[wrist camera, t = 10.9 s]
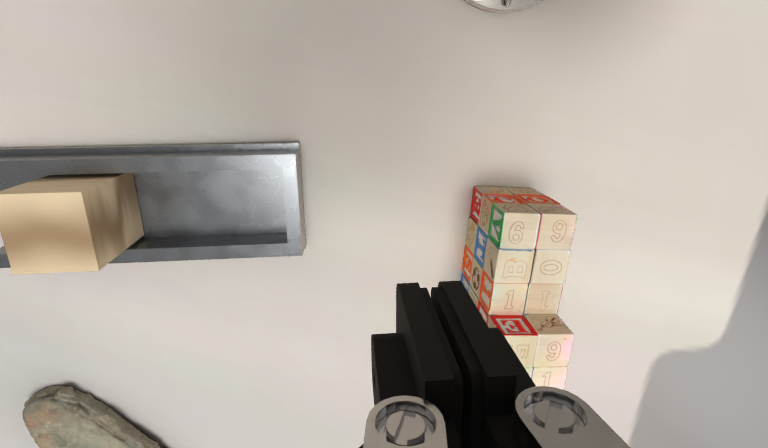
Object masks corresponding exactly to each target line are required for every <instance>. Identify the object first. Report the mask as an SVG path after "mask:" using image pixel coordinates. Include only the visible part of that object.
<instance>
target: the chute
mask: <svg viewBox="0 0 768 448" xmlns="http://www.w3.org/2000/svg"><path fill="white" fill-rule="evenodd" d="M106 173H133V177H134V182H135V187H136V193H137V198H138V203H139V209H140V214H141V219H142V225H143V230H144V236H142V237H141V238H140V239H139V240H137V241H136V242H135V243H133V244H132V245H131V246H130V247H128V248H127V249H126V250H125V251H123V252H122V253H121V254H119V255H118V256H117V257H116V258H114V259H113V260H112V261H111V262H109V263H131V262H156V261H180V260H204V259H228V258H252V257H276V256H300V255H303V251H304V249H305V248H306V235H305V220H304V205H303V190H302V175H301V160H300V145H299V142H267V143H218V144H168V145H118V146H68V147H19V148H0V191H2V190H5V189H8V188H11V187H14V186H18V185H21V184H24V183H27V182H30V181H33V180H36V179H39V178H42V177H45V176H48V175H67V174H106ZM0 268H11V266H10V263H9V259H8V256H7V252H6V249H5V246H3V247H1V248H0Z"/></svg>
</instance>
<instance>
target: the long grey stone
mask: <svg viewBox="0 0 768 448" xmlns="http://www.w3.org/2000/svg"><path fill="white" fill-rule="evenodd" d="M24 406H25V408H24V410H23V420H24V422H25V425H26V427H27V428H28V430H29V432H30V434H31V436H32V437H33V438H34V441H35V443H36V444H37V445H38V446H39V447H40V448H162V447H160V446H159V445H158V443H157V442H155V441H154V440H152V439H149V438H148V437H147V436H146V435H144V434H143V433H142V432H140V431H139V430H137V429H136V428H135V427H134V426H133V425H131V423H129V422H128V421H127V420H125V419H124V418H123V417H122V416H120V415H119V414H118V413H116V412H115V411H114V410H113V409H112V408H111V407H109V406H107V405H105V404H103V403H102V402H100V401H97V400H96V399H94V398H93V397H92V395H91V394H85V393H82V392H80V391H78V390H75V389H73V387H72V386H68V387H66V386H64V385H61V386H60V385H57V386H51V387H48V388H45V389H42V390H41V391H40V392H38V393H36V394H35V395H33V396H32V397H31V398H30V399H29V400H28V401H27V402H25V405H24Z"/></svg>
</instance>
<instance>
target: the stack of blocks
mask: <svg viewBox="0 0 768 448" xmlns="http://www.w3.org/2000/svg"><path fill="white" fill-rule="evenodd" d="M470 214H471V216H470V217H469V222H468V229H467V237H466V245H465V251H464V258H463V265H462V277H461V282H462V283H463V285H464V287H465V288H466V290H467V292H468V293H469V295H470V297H471V299H472V300H473V302H474V304H475V305H476V307H477V309H478V310H479V312H480V314H481V315H482V317H483V319H484V320H485V322H486V324H487V325H488V327H489V328H494V327H496V328H499V329H500V330H501V332H502V333H503V335H504V336H505V338H506V340H507V341H508V343H509V344H510V346H511V347H512V349H513V351H514V352H515V354H516V355H517V357H518V358H519V360H520V362H521V363H522V365H523V366H524V368H525V369H526V371H527V373H528V374H529V376H530V377H531V379H532V380H533V382H534V384H535V385H536V386H548V387H556V388H559V389H562V390H564V386H565V381H566V376H567V371H568V367H567V365H568V364H569V359H570V354H571V349H572V344H573V338H574V333H572V331H571V330H570V329H569V328H568V327H567V326H566V324H565V323H564V322H563V321H562V320H561V319H560V317H559V316H558V315H557V313H558V308H559V303H560V298H561V293H562V289H563V284H564V283H565V279H566V274H567V269H568V264H569V259H570V254H571V250H570V248H571V245H572V240H573V235H574V231H575V225H576V221H577V214H575V213H573V212H572V211H570V210H568V209H567V208H565V207H564V206H562V205H560V203H558V202H556V201H555V200H553V199H551V198H549V197H548V196H545V195H544V194H542V193H540V192H538V191H536V190H534V189H532V188H510V187H494V186H475V187H474V189H473V198H472V206H471V213H470Z"/></svg>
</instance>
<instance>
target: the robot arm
mask: <svg viewBox="0 0 768 448" xmlns="http://www.w3.org/2000/svg"><path fill="white" fill-rule="evenodd" d="M465 1H466V2H468V3H470V4H472V5H473V6H475V7H477V8H479V9H483V10H486V11H490V12H500V13H507V12H514V11H519V10H522V9H525V8H528V7H530V6H533V5H535V4H537V3H539V2H541V1H543V0H505V5H502V3H501V0H465ZM371 351H372V380H373V395H374V405H375V406H374V407H373V409H372V410H371V411H370V412H369V415H368V418H367V421H366V428H365V436H364V444H363V445H362V446H360V447H359V448H630V447H629V446H628V445H627V444H626V443H625V442H624V441H623V440H622V439H621V438H620V437H619V436H618V435H617V434H616V433H615V432H614V431H613V430H612V429H611V428H610V427H609V426H608V425H607V424H606V422H605V421H604V420H603V419H602V418H601V417H600V416H599V415H598V414H597V413H596V412H595V411H594V410H593V409H592V408H591V407H590V406H589V405H588V404H587V403H585V402H584V401H583V400H582V399H580V398H579V397H578V396H576V395H574V394H572V393H570V392H568V391H565V390H562V389H559V388H556V387H548V386H536V385H535V384H534V382H533V380H532V379H531V377H530V376H529V374H528V373H527V371H526V369H525V368H524V366H523V365H522V363H521V362H520V360H519V358H518V357H517V355H516V354H515V352H514V351H513V349H512V347H511V346H510V344H509V343H508V341H507V340H506V338H505V336H504V335H503V333H502V332H501V330H500V329H499V328H496V327H494V328H489V327H488V325H487V324H486V322H485V320H484V319H483V317H482V315H481V314H480V312H479V310H478V309H477V307H476V305H475V304H474V302H473V300H472V299H471V297H470V295H469V293H468V292H467V290H466V288H465V287H464V285H463V283H462V282H461V281H444V282H439V284H438V287H432V289H431V298H430V295H429V293H428V290H427V288H420V286H419V284H418V283H402V284H397V288H396V333H388V334H372V336H371Z"/></svg>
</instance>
